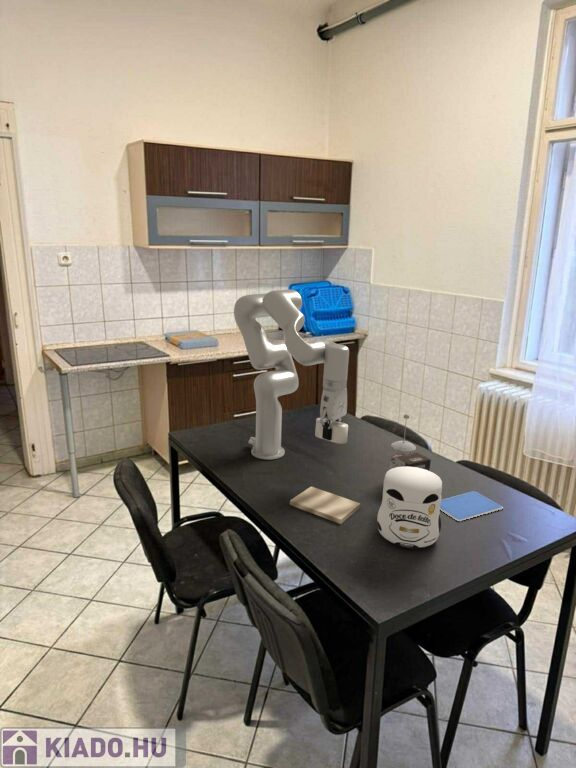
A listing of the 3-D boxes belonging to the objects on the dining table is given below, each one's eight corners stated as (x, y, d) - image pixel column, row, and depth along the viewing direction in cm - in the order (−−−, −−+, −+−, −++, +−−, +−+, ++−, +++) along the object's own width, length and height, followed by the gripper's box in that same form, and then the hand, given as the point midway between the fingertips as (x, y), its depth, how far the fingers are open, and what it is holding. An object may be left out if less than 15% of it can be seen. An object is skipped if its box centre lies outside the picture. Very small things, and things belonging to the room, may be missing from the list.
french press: (379, 483, 182) (385, 413, 175) (397, 473, 190) (404, 406, 183) (404, 493, 175) (412, 421, 168) (422, 482, 183) (430, 413, 176)
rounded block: (312, 435, 177) (313, 420, 176) (319, 432, 181) (320, 416, 179) (342, 444, 171) (344, 428, 170) (349, 440, 175) (350, 425, 173)
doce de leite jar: (399, 560, 140) (405, 497, 135) (364, 526, 155) (369, 469, 150) (452, 546, 146) (460, 487, 141) (413, 516, 162) (420, 461, 157)
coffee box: (402, 513, 163) (408, 464, 159) (389, 503, 169) (394, 456, 164) (426, 507, 167) (431, 459, 163) (412, 497, 173) (417, 451, 168)
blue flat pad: (458, 524, 159) (458, 520, 158) (429, 505, 170) (429, 501, 169) (504, 511, 168) (504, 507, 167) (473, 493, 178) (474, 489, 178)
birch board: (289, 504, 166) (290, 500, 165) (310, 490, 175) (311, 486, 175) (340, 524, 156) (340, 519, 155) (360, 507, 165) (360, 503, 165)
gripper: (331, 392, 162) (327, 447, 167) (357, 380, 175) (353, 432, 180) (310, 386, 166) (307, 441, 171) (337, 375, 179) (334, 426, 185)
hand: (330, 436), depth 176 cm, fingers closed on rounded block, 4 cm apart
